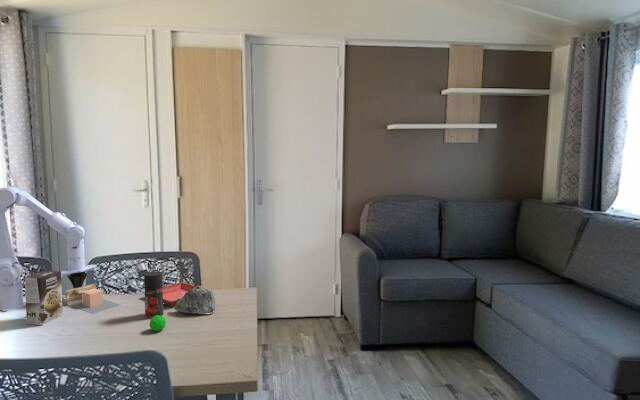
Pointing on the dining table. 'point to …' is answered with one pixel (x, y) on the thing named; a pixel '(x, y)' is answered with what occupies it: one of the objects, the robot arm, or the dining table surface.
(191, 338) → the dining table surface
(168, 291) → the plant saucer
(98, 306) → the slate mat
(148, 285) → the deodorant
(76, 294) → the wooden stand
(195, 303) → the mineral rock
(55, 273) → the brown food box
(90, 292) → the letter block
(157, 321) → the polyhedron
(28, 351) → the dining table surface
